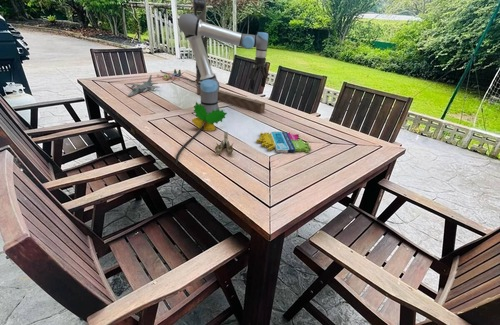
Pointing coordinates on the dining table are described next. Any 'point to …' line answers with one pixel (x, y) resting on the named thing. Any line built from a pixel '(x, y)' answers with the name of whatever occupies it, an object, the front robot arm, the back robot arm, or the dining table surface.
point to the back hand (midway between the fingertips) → (203, 73)
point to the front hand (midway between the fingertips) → (257, 87)
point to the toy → (171, 75)
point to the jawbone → (224, 145)
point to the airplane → (142, 87)
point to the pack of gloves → (283, 142)
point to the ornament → (207, 117)
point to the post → (238, 101)
